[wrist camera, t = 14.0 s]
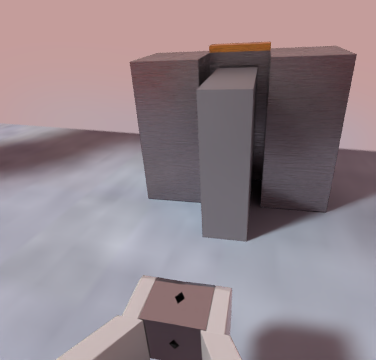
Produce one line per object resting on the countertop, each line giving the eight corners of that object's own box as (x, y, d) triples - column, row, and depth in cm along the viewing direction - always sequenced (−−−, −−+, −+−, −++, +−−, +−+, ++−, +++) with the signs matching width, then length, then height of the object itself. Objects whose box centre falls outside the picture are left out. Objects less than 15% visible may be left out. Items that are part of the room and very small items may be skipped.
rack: (148, 198, 26) (128, 54, 20) (168, 168, 31) (156, 46, 25) (326, 212, 22) (358, 44, 17) (315, 175, 28) (337, 38, 22)
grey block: (202, 237, 21) (196, 89, 16) (218, 182, 28) (217, 68, 23) (246, 241, 20) (253, 89, 15) (251, 184, 27) (257, 67, 22)
